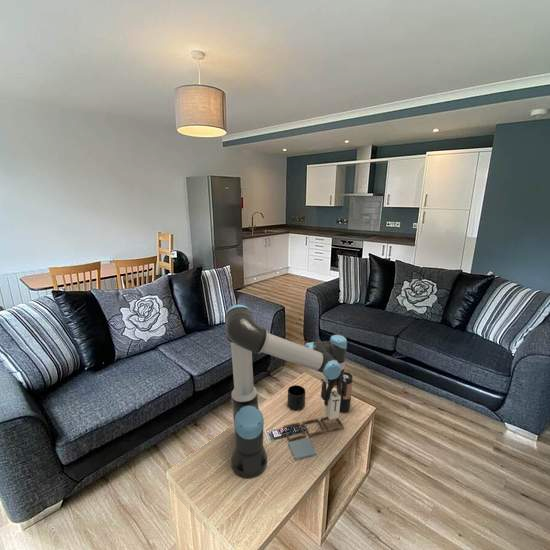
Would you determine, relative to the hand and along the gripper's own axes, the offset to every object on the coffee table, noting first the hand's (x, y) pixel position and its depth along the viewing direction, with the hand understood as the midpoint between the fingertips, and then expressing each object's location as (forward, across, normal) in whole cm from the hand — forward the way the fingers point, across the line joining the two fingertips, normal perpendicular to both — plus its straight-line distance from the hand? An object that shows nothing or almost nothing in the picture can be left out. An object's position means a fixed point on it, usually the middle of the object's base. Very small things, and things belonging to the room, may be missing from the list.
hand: (332, 409), depth 143 cm
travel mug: (+9, +12, +9) cm, 17 cm away
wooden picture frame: (+9, -19, 0) cm, 21 cm away
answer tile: (+9, -19, -10) cm, 24 cm away
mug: (+9, -10, +19) cm, 24 cm away
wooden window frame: (+9, -9, 0) cm, 13 cm away
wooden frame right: (+9, +1, 0) cm, 9 cm away
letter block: (+3, 0, 0) cm, 3 cm away
